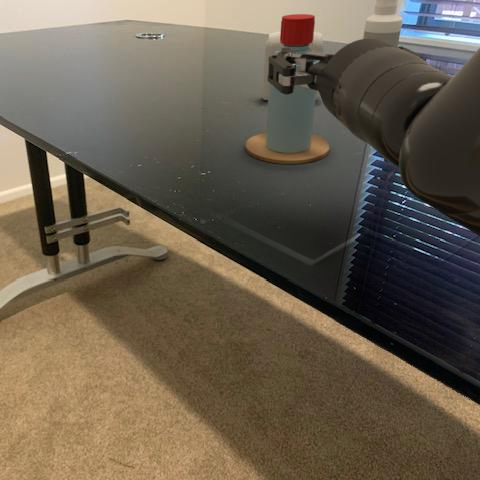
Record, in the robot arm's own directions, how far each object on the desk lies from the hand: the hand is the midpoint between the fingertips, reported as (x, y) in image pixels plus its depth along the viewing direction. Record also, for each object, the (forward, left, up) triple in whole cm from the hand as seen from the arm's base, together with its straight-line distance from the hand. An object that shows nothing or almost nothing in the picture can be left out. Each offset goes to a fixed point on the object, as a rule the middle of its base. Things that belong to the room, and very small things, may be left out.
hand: (321, 54), depth 57 cm
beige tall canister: (-51, -23, -16) cm, 58 cm away
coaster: (-6, -9, -15) cm, 19 cm away
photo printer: (-26, -25, -16) cm, 39 cm away
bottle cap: (-6, -9, 0) cm, 11 cm away
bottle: (-6, -9, -15) cm, 18 cm away
